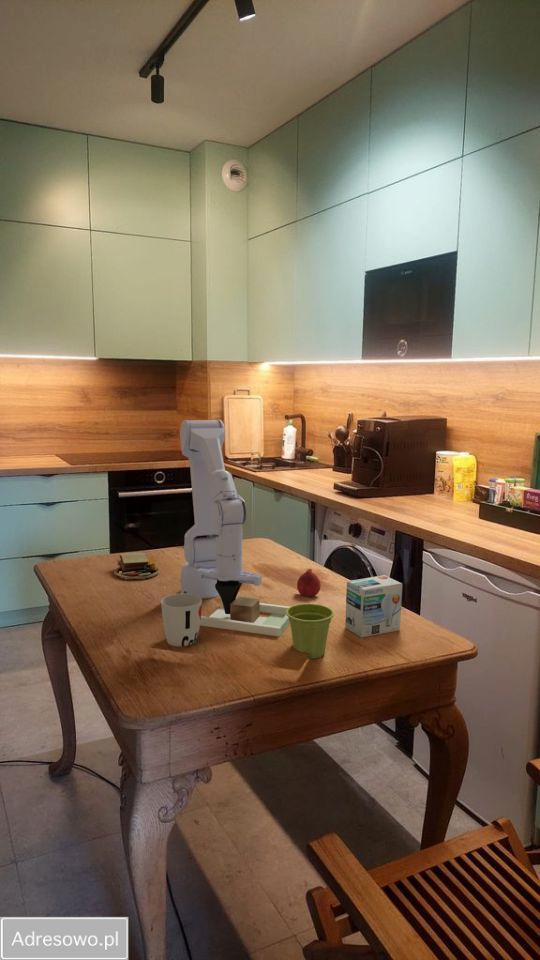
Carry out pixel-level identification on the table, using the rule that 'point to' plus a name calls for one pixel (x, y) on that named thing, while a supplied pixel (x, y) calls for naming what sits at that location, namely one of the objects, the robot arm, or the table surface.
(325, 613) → the plant pot
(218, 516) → the robot arm
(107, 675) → the table surface
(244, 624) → the tray
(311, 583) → the onion
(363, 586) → the light bulb box
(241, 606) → the block
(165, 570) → the table surface
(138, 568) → the toy sandwich meal
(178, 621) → the cup
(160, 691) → the table surface
